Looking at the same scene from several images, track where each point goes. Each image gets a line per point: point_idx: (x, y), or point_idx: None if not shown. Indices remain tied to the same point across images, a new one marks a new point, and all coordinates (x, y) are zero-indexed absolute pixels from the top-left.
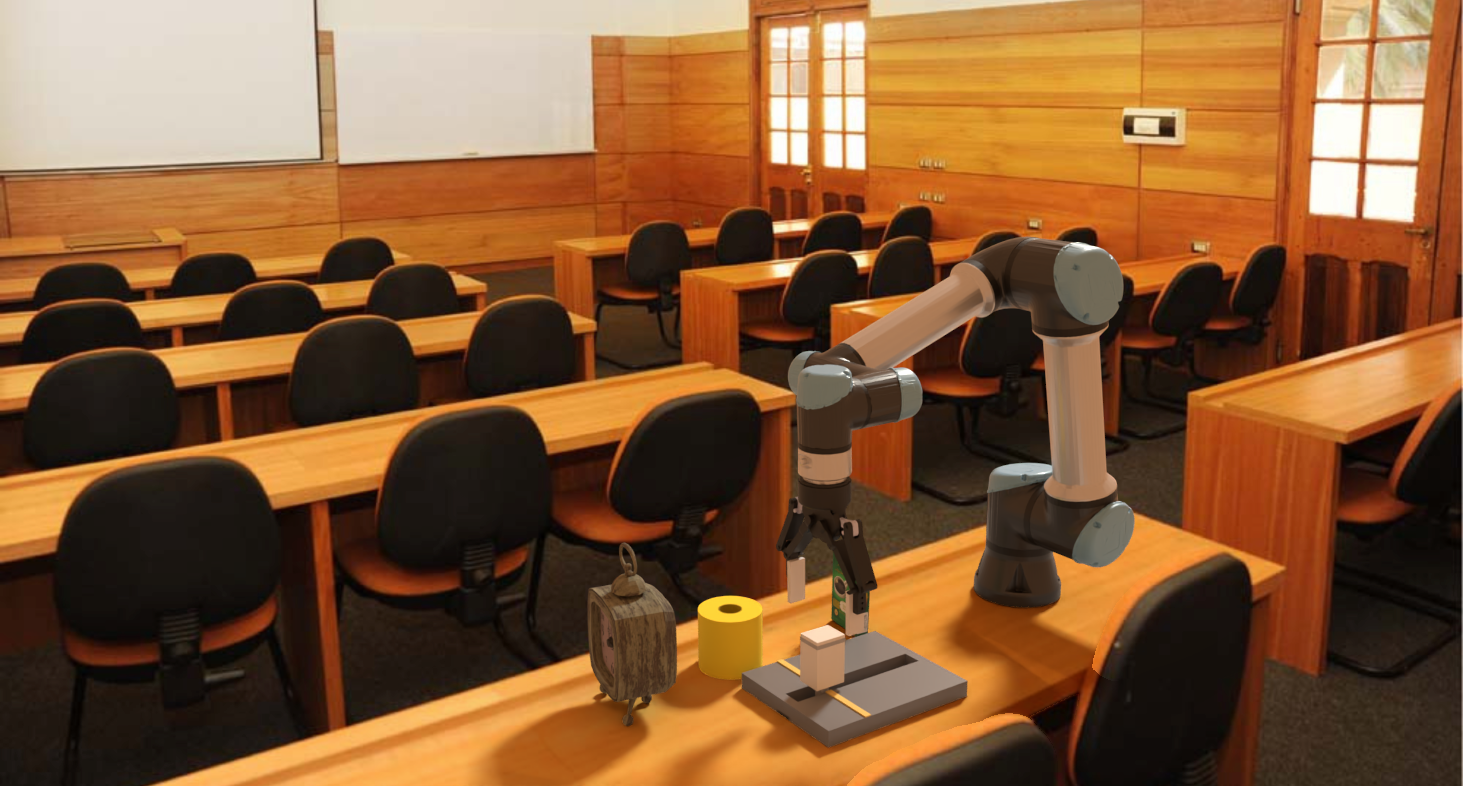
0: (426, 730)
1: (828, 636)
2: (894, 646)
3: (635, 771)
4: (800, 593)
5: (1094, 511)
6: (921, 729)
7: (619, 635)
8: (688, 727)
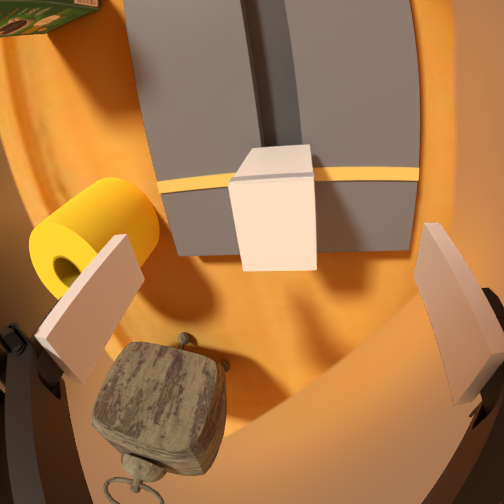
0: None
1: (299, 227)
2: None
3: (304, 383)
4: (122, 264)
5: None
6: (443, 88)
7: (213, 461)
8: (255, 330)
